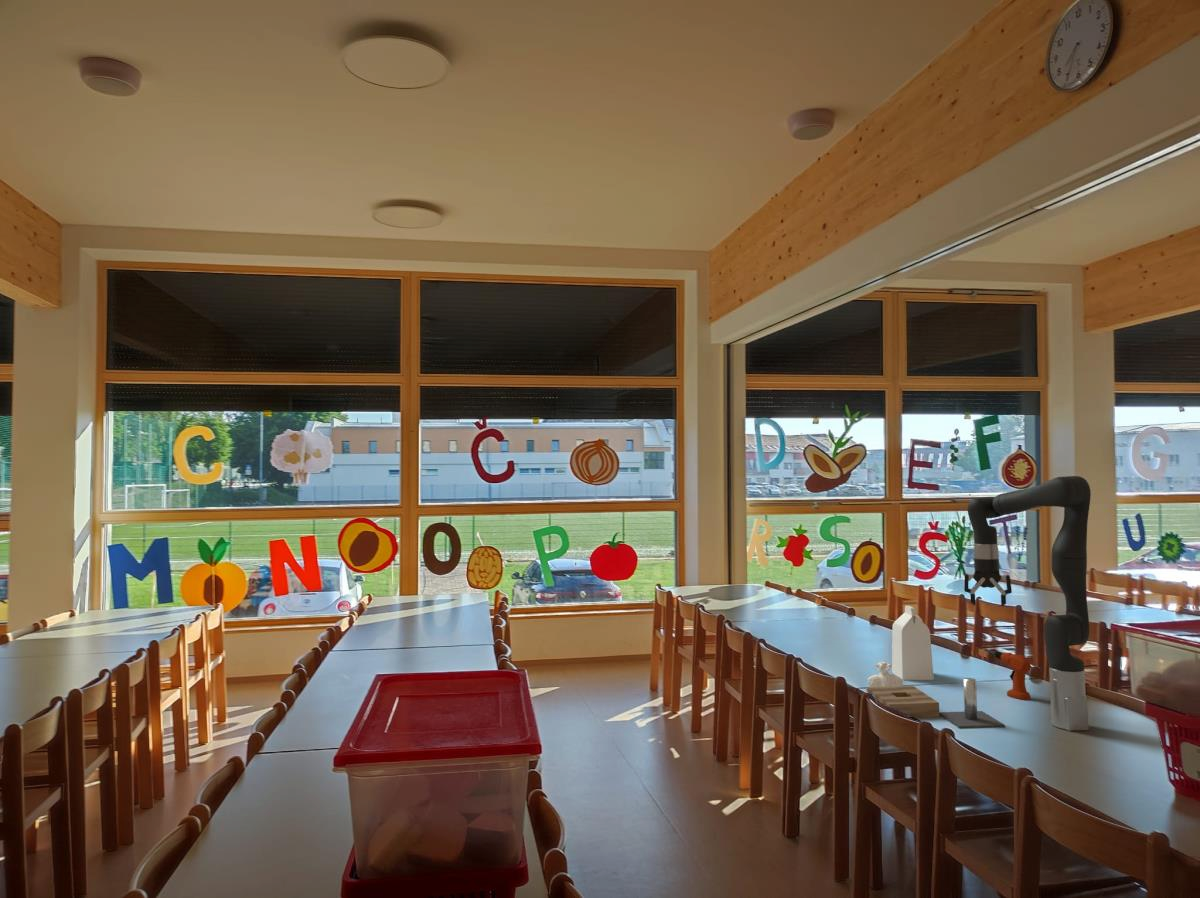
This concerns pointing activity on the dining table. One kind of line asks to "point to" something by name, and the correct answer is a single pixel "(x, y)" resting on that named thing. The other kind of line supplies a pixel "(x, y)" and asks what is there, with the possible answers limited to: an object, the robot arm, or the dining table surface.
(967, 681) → the silver metal cylinder
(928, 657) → the milk
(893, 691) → the block
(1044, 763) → the dining table surface
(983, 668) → the dining table surface
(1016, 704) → the dining table surface
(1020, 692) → the toy drill
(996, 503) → the robot arm
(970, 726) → the rubber mat
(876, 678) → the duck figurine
